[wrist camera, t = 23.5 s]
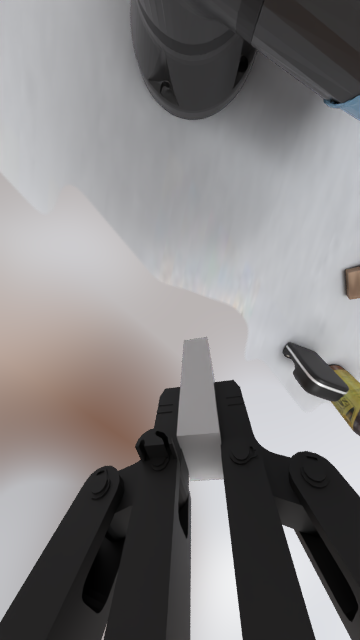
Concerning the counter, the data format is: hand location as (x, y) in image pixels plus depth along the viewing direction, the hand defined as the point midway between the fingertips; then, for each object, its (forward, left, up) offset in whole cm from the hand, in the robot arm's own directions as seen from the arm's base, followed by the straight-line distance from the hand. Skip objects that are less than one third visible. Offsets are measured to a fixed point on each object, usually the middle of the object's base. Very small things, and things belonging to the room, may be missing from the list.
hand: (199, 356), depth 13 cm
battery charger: (+21, +18, -27) cm, 38 cm away
